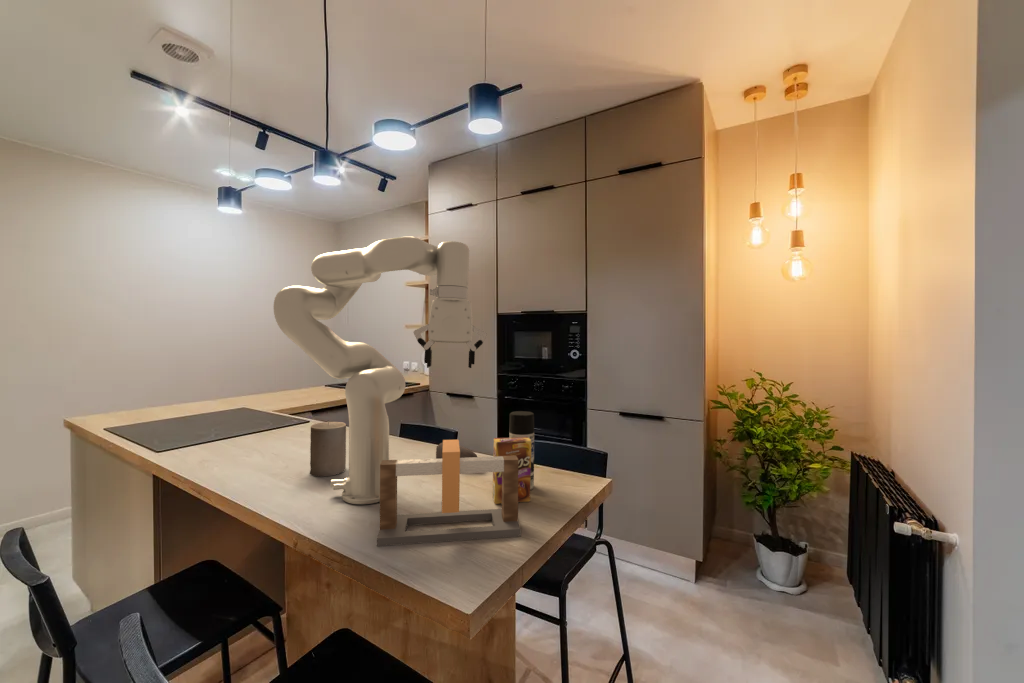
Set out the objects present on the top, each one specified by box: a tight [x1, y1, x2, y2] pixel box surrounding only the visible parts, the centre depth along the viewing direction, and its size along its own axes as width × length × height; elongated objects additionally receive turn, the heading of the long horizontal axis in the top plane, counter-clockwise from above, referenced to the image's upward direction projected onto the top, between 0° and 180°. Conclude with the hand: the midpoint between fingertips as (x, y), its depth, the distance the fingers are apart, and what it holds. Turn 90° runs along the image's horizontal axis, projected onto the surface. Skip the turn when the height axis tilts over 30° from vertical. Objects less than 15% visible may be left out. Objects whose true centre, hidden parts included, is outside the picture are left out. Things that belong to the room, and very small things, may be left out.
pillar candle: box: [309, 420, 347, 478], centre depth 119 cm, size 10×10×15 cm
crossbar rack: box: [376, 455, 522, 547], centre depth 85 cm, size 28×10×14 cm, turn 99°
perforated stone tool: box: [435, 442, 478, 459], centre depth 124 cm, size 15×5×7 cm, turn 59°
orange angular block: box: [441, 439, 461, 513], centre depth 85 cm, size 10×3×12 cm, turn 9°
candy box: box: [491, 437, 531, 505], centre depth 100 cm, size 9×4×15 cm, turn 103°
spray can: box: [508, 410, 535, 491], centre depth 108 cm, size 7×7×20 cm
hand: (449, 366), depth 97 cm, fingers open, 9 cm apart
